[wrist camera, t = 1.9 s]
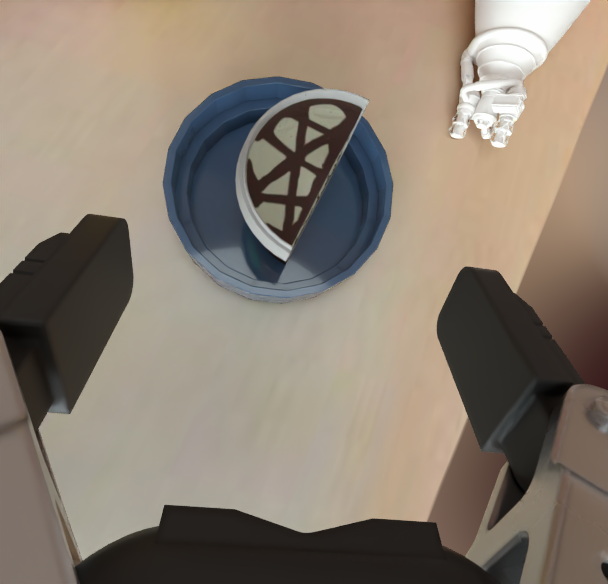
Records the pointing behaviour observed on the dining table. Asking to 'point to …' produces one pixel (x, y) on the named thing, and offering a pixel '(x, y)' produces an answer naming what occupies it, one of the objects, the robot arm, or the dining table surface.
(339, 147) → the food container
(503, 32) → the rocket engine
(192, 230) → the bowl
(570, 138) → the dining table surface
